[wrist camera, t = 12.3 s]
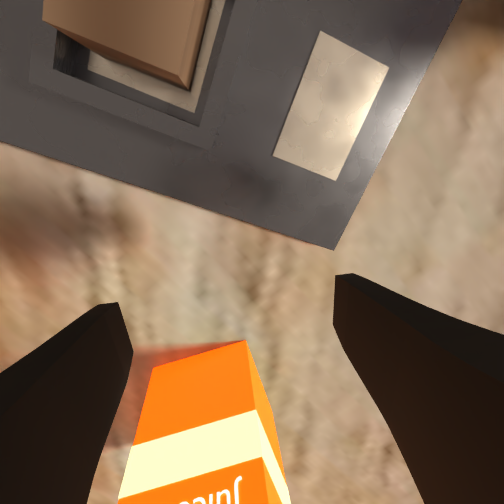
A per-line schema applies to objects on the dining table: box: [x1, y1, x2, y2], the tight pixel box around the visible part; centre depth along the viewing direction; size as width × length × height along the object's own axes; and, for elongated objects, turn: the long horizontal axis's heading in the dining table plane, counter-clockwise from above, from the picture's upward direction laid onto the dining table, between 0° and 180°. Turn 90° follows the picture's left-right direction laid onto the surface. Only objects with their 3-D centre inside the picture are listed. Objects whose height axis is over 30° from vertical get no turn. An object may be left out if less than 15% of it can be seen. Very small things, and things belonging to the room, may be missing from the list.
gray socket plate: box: [0, 0, 462, 251], centre depth 13 cm, size 22×14×3 cm, turn 69°
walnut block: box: [42, 0, 212, 92], centre depth 10 cm, size 4×4×5 cm
